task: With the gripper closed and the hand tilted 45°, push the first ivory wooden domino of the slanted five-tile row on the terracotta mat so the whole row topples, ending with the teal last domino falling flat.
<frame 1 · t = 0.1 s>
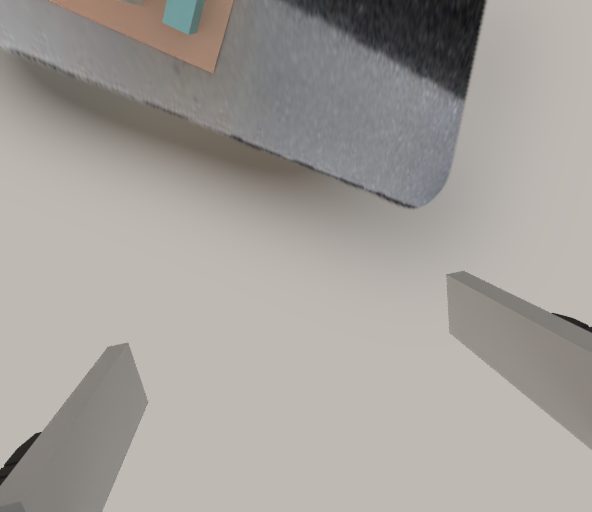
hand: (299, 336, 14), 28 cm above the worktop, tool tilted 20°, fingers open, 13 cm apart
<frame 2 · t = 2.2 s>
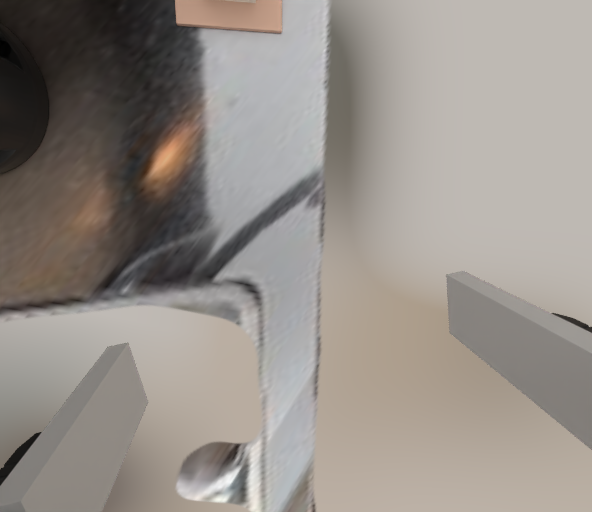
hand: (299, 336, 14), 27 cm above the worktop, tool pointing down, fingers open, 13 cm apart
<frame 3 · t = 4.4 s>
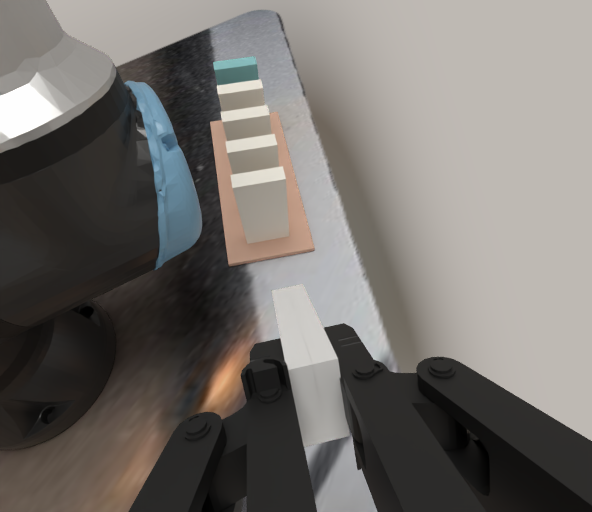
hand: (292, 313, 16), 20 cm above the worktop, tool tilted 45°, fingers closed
last domino: (246, 130, 50), point 1 cm above the worktop, touching mat
domino 3: (256, 177, 45), point 1 cm above the worktop, touching mat
domino 4: (251, 153, 48), point 1 cm above the worktop, touching mat
domino 2: (261, 204, 43), point 1 cm above the worktop, touching mat
mat: (256, 180, 46), on the worktop
domino 1: (267, 234, 41), point 1 cm above the worktop, touching mat
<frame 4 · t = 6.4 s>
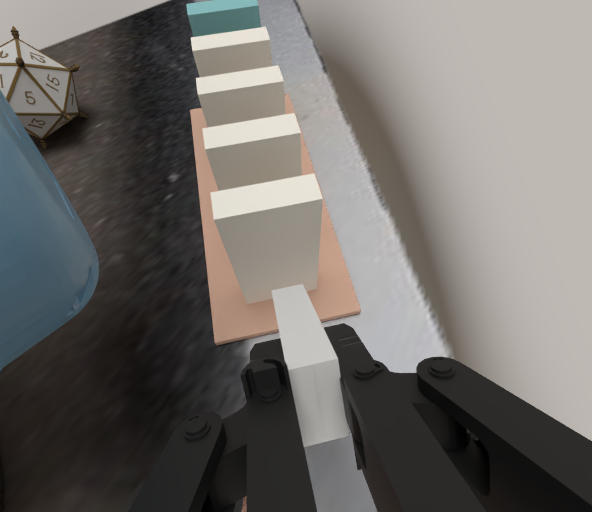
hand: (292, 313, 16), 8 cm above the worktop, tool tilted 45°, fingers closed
last domino: (243, 121, 34), point 1 cm above the worktop, touching mat
game die: (58, 129, 35), on the worktop
domino 3: (259, 191, 29), point 1 cm above the worktop, touching mat
domino 4: (251, 153, 31), point 1 cm above the worktop, touching mat
domino 2: (268, 235, 27), point 1 cm above the worktop, touching mat
mat: (260, 195, 30), on the worktop
domino 1: (280, 286, 25), point 1 cm above the worktop, touching mat
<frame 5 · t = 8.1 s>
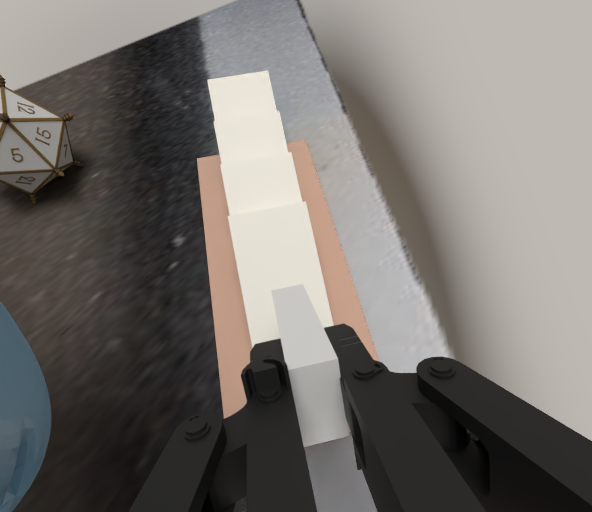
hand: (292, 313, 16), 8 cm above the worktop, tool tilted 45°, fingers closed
game die: (51, 179, 31), on the worktop
domino 3: (272, 245, 26), point 1 cm above the worktop, tilted 69°, touching domino 2, domino 4, mat
domino 4: (261, 193, 28), point 2 cm above the worktop, tilted 69°, touching domino 3, last domino
domino 2: (285, 301, 23), point 1 cm above the worktop, tilted 69°, touching domino 1, domino 3, mat
mat: (277, 265, 26), on the worktop
domino 1: (299, 368, 21), point 1 cm above the worktop, tilted 69°, touching domino 2, mat
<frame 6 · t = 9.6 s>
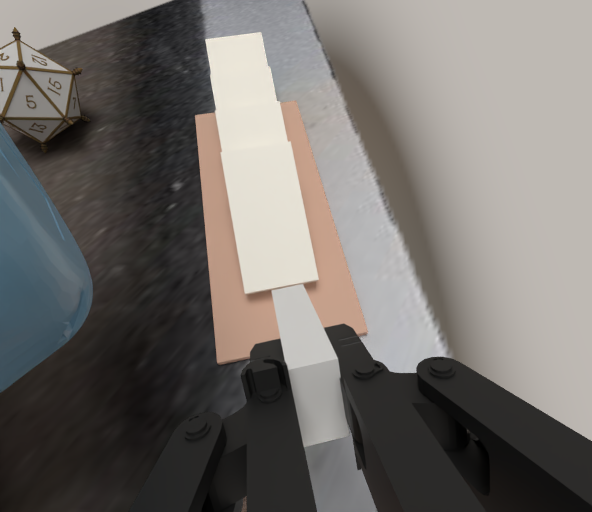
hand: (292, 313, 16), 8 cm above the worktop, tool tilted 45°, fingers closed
game die: (60, 132, 34), on the worktop
domino 3: (262, 188, 28), point 1 cm above the worktop, tilted 69°, touching domino 2, domino 4, mat
domino 4: (253, 144, 30), point 2 cm above the worktop, tilted 69°, touching domino 3, last domino
domino 2: (271, 233, 26), point 1 cm above the worktop, tilted 69°, touching domino 1, domino 3, mat
mat: (265, 207, 29), on the worktop
domino 1: (281, 287, 24), point 1 cm above the worktop, tilted 69°, touching domino 2, mat
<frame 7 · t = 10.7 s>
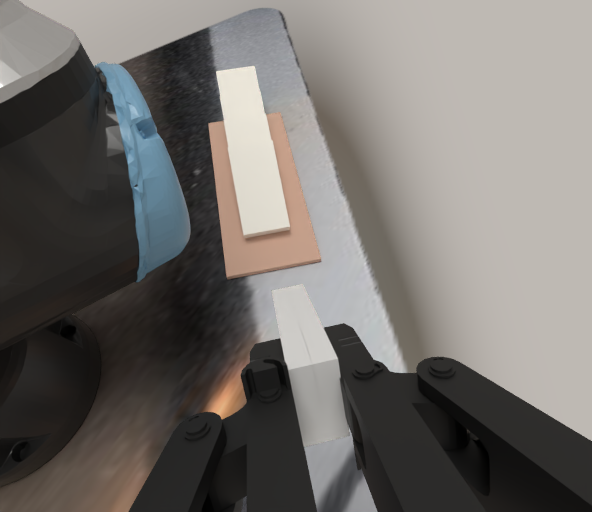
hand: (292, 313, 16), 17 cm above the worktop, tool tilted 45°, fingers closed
domino 3: (255, 171, 42), point 1 cm above the worktop, tilted 69°, touching domino 2, domino 4, mat
domino 4: (249, 142, 44), point 2 cm above the worktop, tilted 69°, touching domino 3, last domino
domino 2: (260, 200, 40), point 1 cm above the worktop, tilted 69°, touching domino 1, domino 3, mat
mat: (257, 185, 43), on the worktop
domino 1: (267, 232, 37), point 1 cm above the worktop, tilted 69°, touching domino 2, mat
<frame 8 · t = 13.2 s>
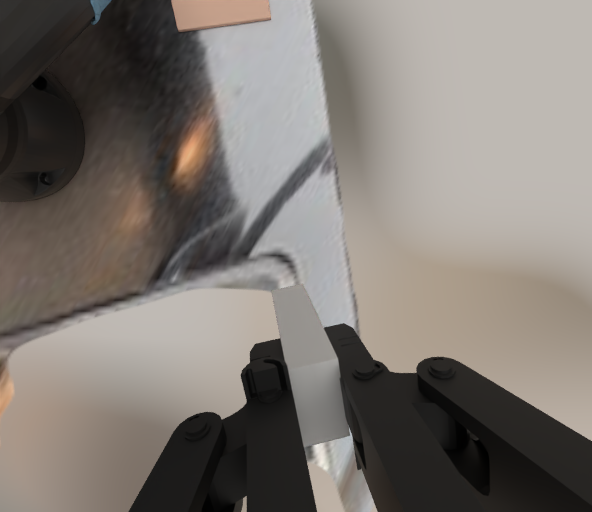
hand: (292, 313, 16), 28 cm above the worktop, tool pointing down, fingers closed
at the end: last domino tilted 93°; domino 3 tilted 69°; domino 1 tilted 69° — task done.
